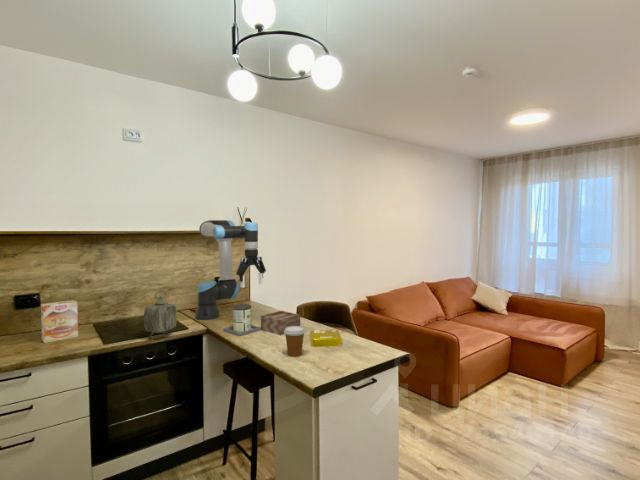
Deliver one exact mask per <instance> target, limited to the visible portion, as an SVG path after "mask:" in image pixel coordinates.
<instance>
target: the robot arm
mask: <svg viewBox="0 0 640 480" xmlns="http://www.w3.org/2000/svg"><path fill="white" fill-rule="evenodd" d="M198 231H199V233H200V234H201V235H202V236H203V237H206V238H214V239H215V241H216V242H218V261H219V278H218V280H217V281H216V280H208V281H204V282H201V283H198V285H197V308H196V312H195V316H194V317H195V319H196V320H201V321H206V320H207V321H209V320H214V319H217V318H219V317H220V311H219V308H218V305H217V301H221V300H222V301H223V300H230V299H235V298H236V297H238V295H239V293H240V292H239V291H240V288H246V285H245V275H244V274H245V273H246V272H247V270H248V268H249V267H251V266H254V267H255V268H256V269H257V272H258V285H263V284H264V283H263V281H264V279H263V278H264V274H265V272H267V269H266V267H265V265H264V262H263V256H259V249H258V248H259V227H258V223H257V222H252V221H251V222H249V221H248V222H247V221H246V222H245V223H244V225H235V223H234V222H233V221H232V220H229V219H228V220H227V219H222V220H221V219H218V220H217V219H209V220H204V221H203V222H201V224H200V226H199V229H198ZM234 239H241V240H242V239H244V256H245V257H241V258H240V263H239V265H238V267H237V271H236V272H235V273H236V274H235V275H237V276H238V277H239V282H240V285H239V282H238V280H237V279H236V277H234V271H233V270H234V269H233V268H234V267H233V254H232V253H233V251H232V249H233V248H232V242H233V240H234Z"/></svg>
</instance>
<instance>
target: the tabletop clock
mask: <svg viewBox="0 0 640 480" xmlns="http://www.w3.org/2000/svg"><path fill="white" fill-rule="evenodd" d="M159 293H164V296H159V297H157V295H158V294H159ZM166 296H167V292H166V291H165V290H159V291H157V292H156V293H155V294H154V298H155V299H156V301H155V303H153V304H149V305H147V306H146V307H145V308H144V312H143V324H144V325H143V326H144V330H145V331H146V332H151V334H150V335H148V337H147V339H149V340H151V339H152V336H153V335H154V334H155V333H156V334H161V333H162V338H164V339H165V338H166V337H167V335H168V334H169V331H170V330H172V329H174V328H176V326H177V321H178V320H177V319H178V316H177V315H178V314H177V313H178V312H177V308H176V305H175V304H173V303H166V300H165V299H164V298H166Z"/></svg>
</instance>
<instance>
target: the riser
mask: <svg viewBox="0 0 640 480" xmlns="http://www.w3.org/2000/svg"><path fill="white" fill-rule="evenodd" d="M290 326H301V314H298V313H295V312H290V311H289V312H288V311H284V310H279V311H274V312H271V313H270V312H269V313H266V314H263V315H260V328H261V330H260V331H264V332H268V333H271V334H274V335H277V336H278V335H279V336H282V335H285V333H284V331H285V328H287V327H290Z"/></svg>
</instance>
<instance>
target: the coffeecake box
mask: <svg viewBox="0 0 640 480" xmlns="http://www.w3.org/2000/svg"><path fill="white" fill-rule="evenodd" d="M40 310H41V312H40V313H41V314H40V315H41V316H40V318H41V321H40V322H41V341H42V343H44V344H46V343H53V342H58V341H63V340H68V339H69V340H70V339H73V338H74V339H75V338H78V337H79V321H78V320H79V318H78V317H79V315H78V312H79V311H78V301H77V300H75V299H74V300H73V299H72V300H63V301H57V302H48V303H40Z"/></svg>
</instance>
